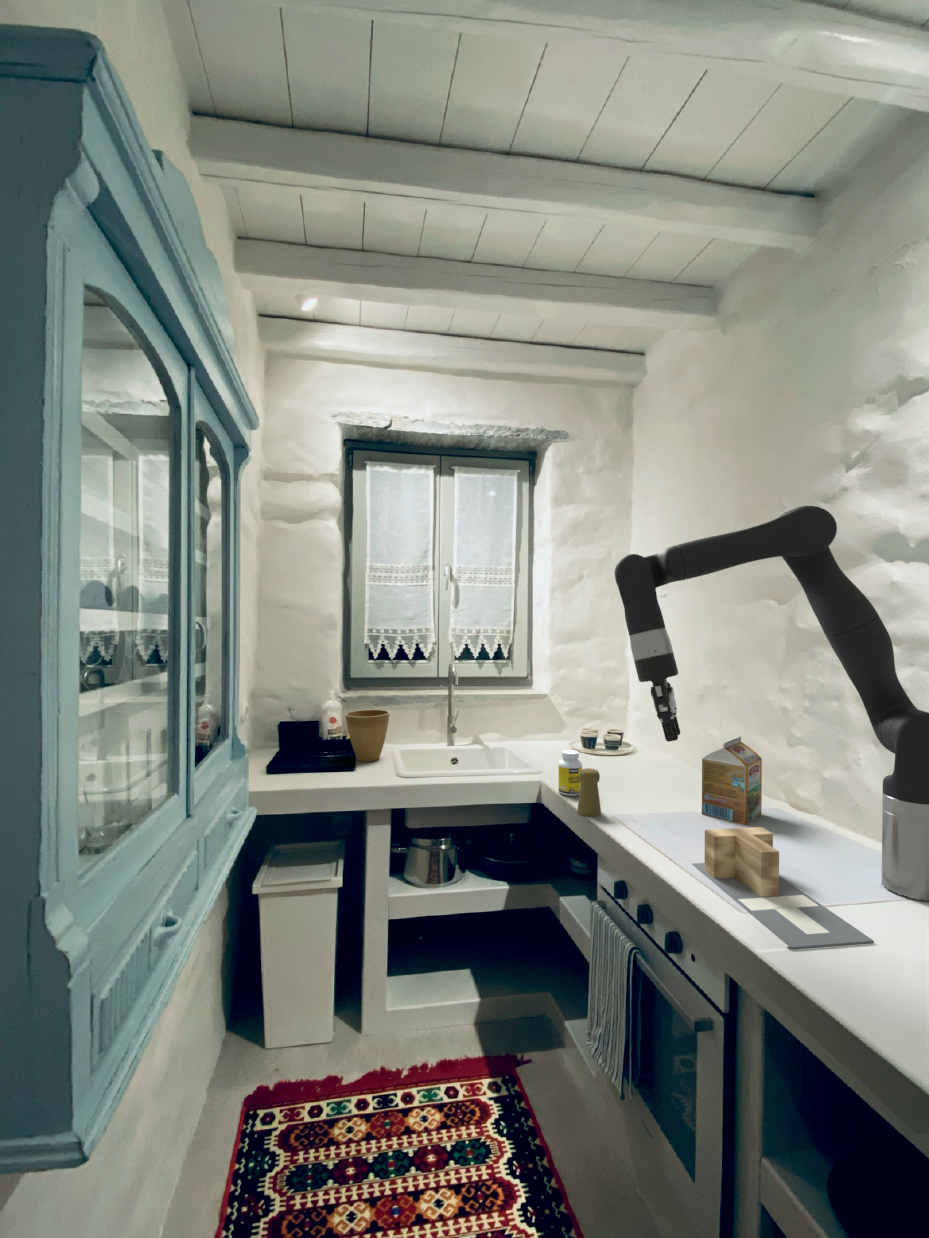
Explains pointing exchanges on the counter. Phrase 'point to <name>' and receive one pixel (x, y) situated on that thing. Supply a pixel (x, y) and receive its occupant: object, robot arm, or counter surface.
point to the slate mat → (792, 915)
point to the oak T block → (744, 858)
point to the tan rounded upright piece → (589, 793)
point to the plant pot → (367, 732)
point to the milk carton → (732, 783)
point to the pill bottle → (569, 773)
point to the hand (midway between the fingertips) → (673, 738)
